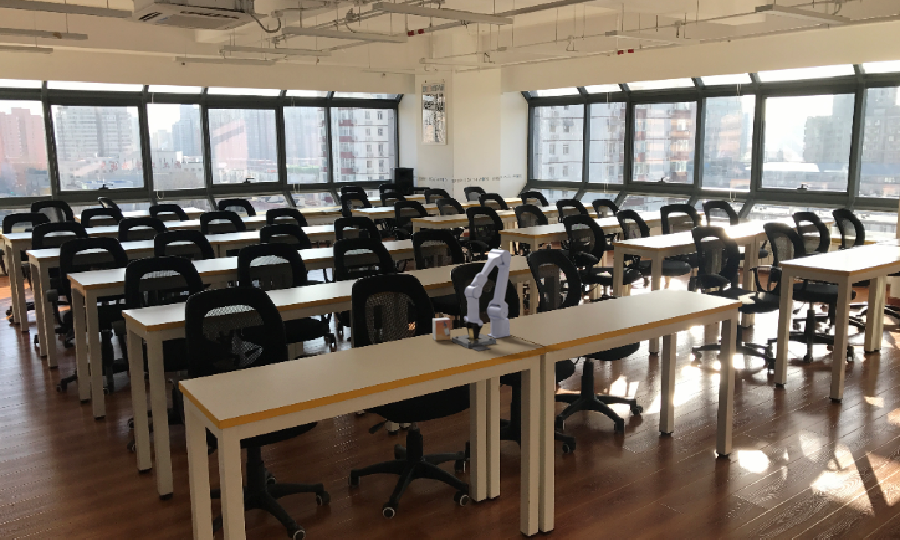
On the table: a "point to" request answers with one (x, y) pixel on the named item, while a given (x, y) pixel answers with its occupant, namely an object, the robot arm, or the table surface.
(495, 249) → the robot arm
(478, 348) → the mat
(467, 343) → the housing
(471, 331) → the brass cylinder
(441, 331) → the small box
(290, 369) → the table surface
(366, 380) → the table surface
